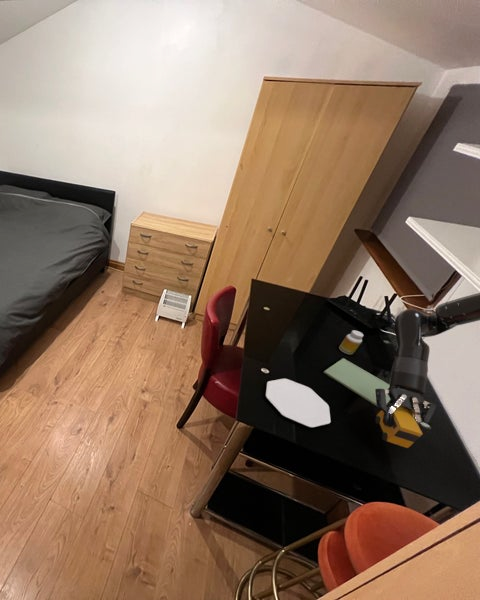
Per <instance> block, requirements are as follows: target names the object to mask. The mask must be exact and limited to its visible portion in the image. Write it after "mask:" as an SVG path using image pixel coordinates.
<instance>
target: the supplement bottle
mask: <svg viewBox="0 0 480 600" xmlns="http://www.w3.org/2000/svg"><path fill="white" fill-rule="evenodd" d="M363 337H364V334H363V332H361V331H358V330H354V329H353V330H351V332H350V333H347V334H346V335H345V337H344V339H343V341H342V342H341V344H340V345H339V346H338V349H339V350H340V351H341V352H342V353H344V354H347V355H354V354H355V353H356V351H357V349H358V348H359V346H360V345H361V344H362V342H363Z"/></svg>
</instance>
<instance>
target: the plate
mask: <svg viewBox="0 0 480 600" xmlns="http://www.w3.org/2000/svg"><path fill="white" fill-rule="evenodd" d="M265 399H266V400H268V402H269V403H271V405H272V406H273V407H274V408H275V409H276V410H277V411H278V413H279V414H280V415H281V416H282V417H284V418H287V419H288V420H290V421H293V422H296V423H298V424H301V425H302V426H305V427H308V428H311V429H313V428H316V427H321V426H326V425H329V424H330V423H331V422H332V421H331V413H330V412H331V411H330V406H329V404H328V403H327V402H326V401H325V400H324V399H323V398H321V397H320V396H319V395H318V394H317V393H316V392H315V391H314V390H313V389H312V388H311V387H309V386H307V385H304V384H302V383H300V382H299V383H298V382H296V381H293V380H291V379H288V378H279V379H275V380H273V379H272V380H269V381H267V382H266V388H265Z"/></svg>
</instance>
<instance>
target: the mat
mask: <svg viewBox="0 0 480 600" xmlns="http://www.w3.org/2000/svg"><path fill="white" fill-rule="evenodd" d="M323 374H325V375H326V376H328V377H329V378H331V379H333V380H334V381H336V382H337V383H339V384H341V385H342V386H344V387H345V388H347V389H348V390H351V392H353V393H354V394H357V395H358V396H360V397H361V398H363V399H364V400H366V401H368V402H369V403H371V404H372V405H374V406H376V407H377V403H376V392H375V389H384V390H387V389H388V388H389V387H390V385H389V383H387V382H386V381H384V380H383V379H380V378H378V377H377V376H375V375H373V374H371V373H370V372H368V371H367V370H364V369H363V368H362V367H359V366H358V365H356V364H354V363H353V362H351V361H349V360H347V359H346V358H344V357H343V358H341V359H340V360H338V361H336V363H334V364H333V365H331V366H329V367H328V368H327V369H325V370H324V371H323ZM389 400H390V397H389V395H388V394H387V396H386V404H387V403H388V402H389Z"/></svg>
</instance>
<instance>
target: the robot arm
mask: <svg viewBox="0 0 480 600" xmlns="http://www.w3.org/2000/svg"><path fill="white" fill-rule="evenodd" d="M478 321H480V292H478V293H473V294H470V295H466V296H463V297H459V298H456V299H452V300H449V301H446V302H443V303H440V304H438V305H437V306H436V307H435V308H434V313H432V314H427V313H425V312H423V311H421V310H418V309H414V308H407V309H404V310H401V311H400V312H399V313H398V314H397V315H396V317H395V319H394V334H395V339H396V344H397V345H396V349H395V356H394V360H393V362H392V366H391V372H390V378H389V382H388V384H389V385H390V387H389V388H388V389H387V390H384V389H375V392H376V403H377V406H376V408H377V409H378V410H380V411H381V410H382V411H383V412H384V416H383V423H384V425H385V426H387V427H392V421H393V416H394V415H393V413H394V411H395V410H396V409H397V408H399V406H401V407H403V408H406V409H407V410H408V411H409V412H410V413H412V415H413V417H414V419H415V421H416V422H417V424H418V426H419V427H420V423H430V421H431V418H432V417H433V415H434V413H435V410H436V408H437V405H436V404H435V403H431V402H428V401H426V400H425V398H424V394H425V392H426V385H427V379H428V374H429V373H428V372H429V358H430V353H431V352H430V346H429V344H428V343H426V342H425V341H424V339H423V338H430V337H436V336H438V335H440V334H443V333H446V332H448V331H450V330H451V329H453V328H455V327H458V326H463V325H466V324H471V323H475V322H478ZM387 394H388V395H389V397H390V400H389V402H388V403H387V405H386V396H387ZM420 406H421V408H422V409H421V410H420Z"/></svg>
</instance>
